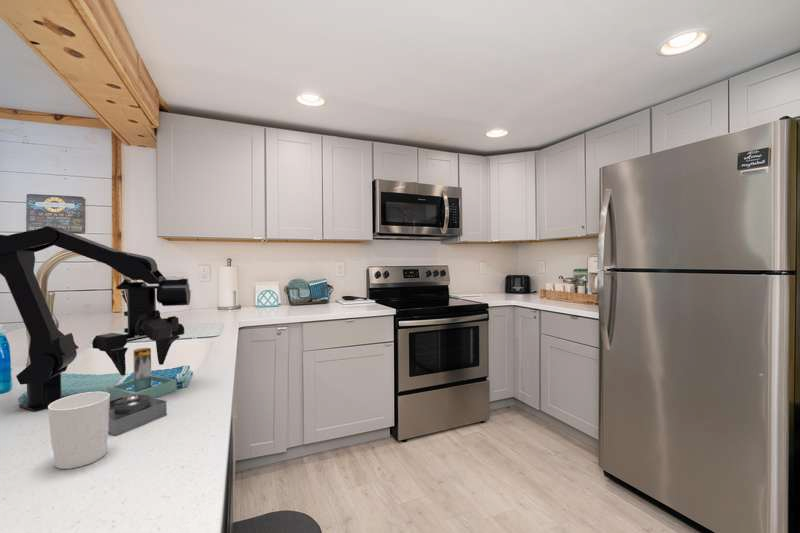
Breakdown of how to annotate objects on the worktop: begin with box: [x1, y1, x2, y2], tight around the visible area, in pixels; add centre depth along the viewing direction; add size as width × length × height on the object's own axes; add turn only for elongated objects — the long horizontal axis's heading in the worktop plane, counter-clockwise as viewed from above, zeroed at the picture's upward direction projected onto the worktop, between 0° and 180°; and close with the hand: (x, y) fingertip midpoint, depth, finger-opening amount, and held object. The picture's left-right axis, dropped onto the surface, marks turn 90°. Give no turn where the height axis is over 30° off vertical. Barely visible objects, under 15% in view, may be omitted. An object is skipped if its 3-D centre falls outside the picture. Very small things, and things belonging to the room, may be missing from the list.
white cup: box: [47, 391, 110, 470], centre depth 62 cm, size 8×8×10 cm
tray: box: [106, 374, 178, 399], centre depth 91 cm, size 10×10×2 cm
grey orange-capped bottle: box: [132, 347, 152, 392], centre depth 91 cm, size 4×4×10 cm
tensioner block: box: [108, 393, 168, 437], centre depth 77 cm, size 12×10×5 cm
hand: (142, 369), depth 91 cm, fingers open, 9 cm apart
